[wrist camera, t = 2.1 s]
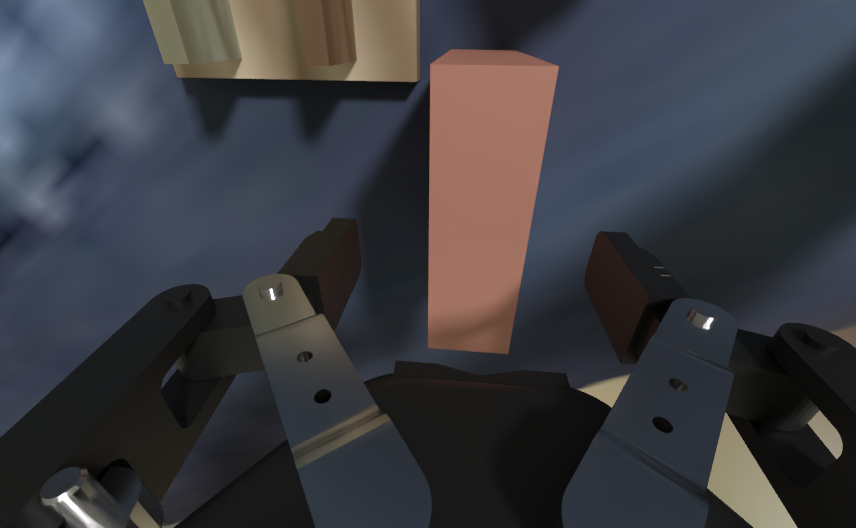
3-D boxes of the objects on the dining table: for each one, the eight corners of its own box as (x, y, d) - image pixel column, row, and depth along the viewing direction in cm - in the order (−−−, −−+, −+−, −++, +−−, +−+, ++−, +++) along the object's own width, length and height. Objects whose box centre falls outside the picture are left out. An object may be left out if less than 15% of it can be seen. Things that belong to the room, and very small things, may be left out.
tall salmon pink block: (514, 50, 20) (558, 66, 10) (494, 229, 26) (508, 354, 16) (451, 49, 20) (430, 64, 10) (445, 226, 26) (428, 347, 16)
